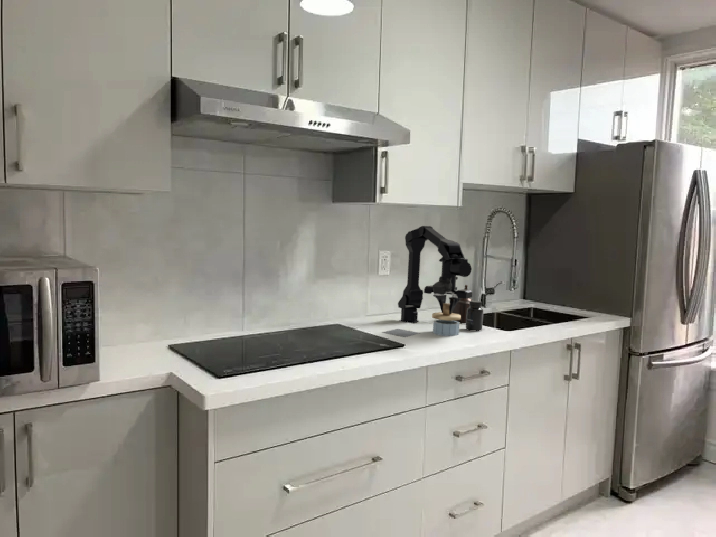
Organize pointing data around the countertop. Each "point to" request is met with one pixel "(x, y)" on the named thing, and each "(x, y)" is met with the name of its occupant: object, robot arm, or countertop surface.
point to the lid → (446, 314)
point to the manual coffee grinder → (462, 307)
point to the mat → (401, 332)
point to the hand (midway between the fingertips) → (446, 313)
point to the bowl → (446, 327)
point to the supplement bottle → (474, 316)
